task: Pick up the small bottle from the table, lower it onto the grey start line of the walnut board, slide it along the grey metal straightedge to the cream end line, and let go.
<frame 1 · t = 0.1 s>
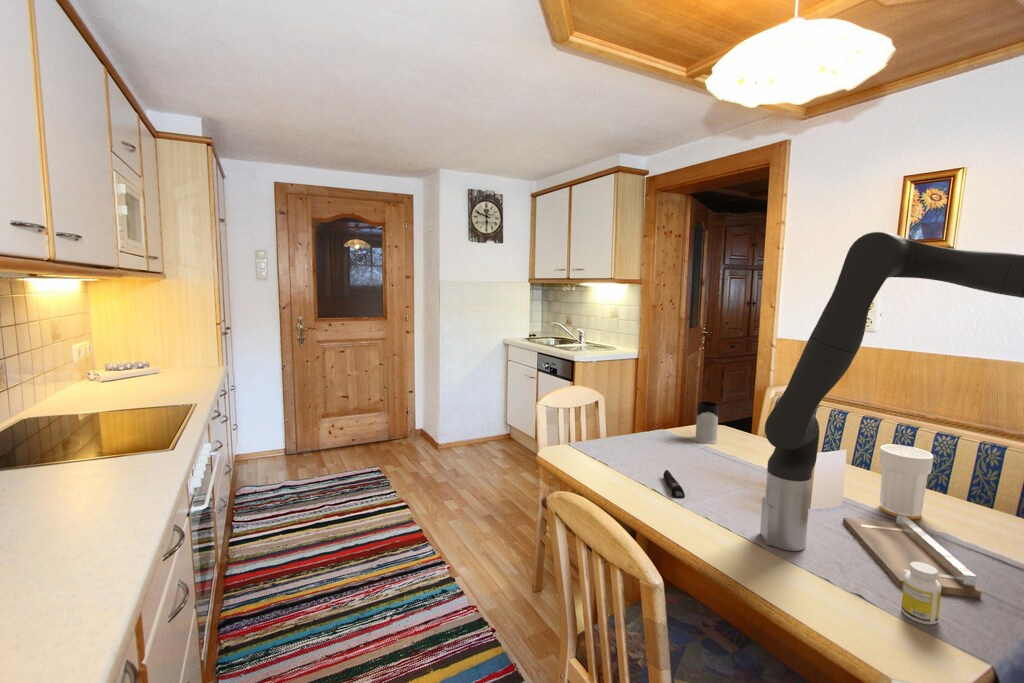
cup: (899, 512, 134), on the table
glass holder: (705, 438, 196), on the table
metal straightedge: (930, 558, 111), resting on walnut board
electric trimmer: (672, 489, 149), on the table
walnut board: (902, 555, 112), on the table
supplement bottle: (918, 616, 92), on the table
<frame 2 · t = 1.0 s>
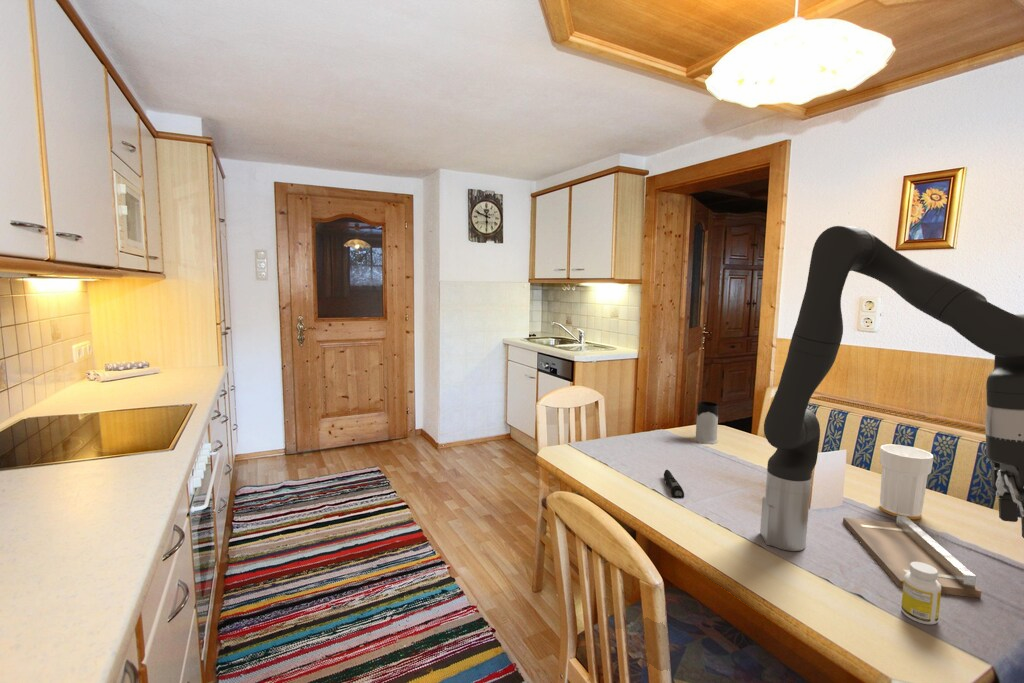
hand: (1020, 530, 81), 22 cm above the table, tool pointing down, fingers open, 8 cm apart
nothing on the table moved.
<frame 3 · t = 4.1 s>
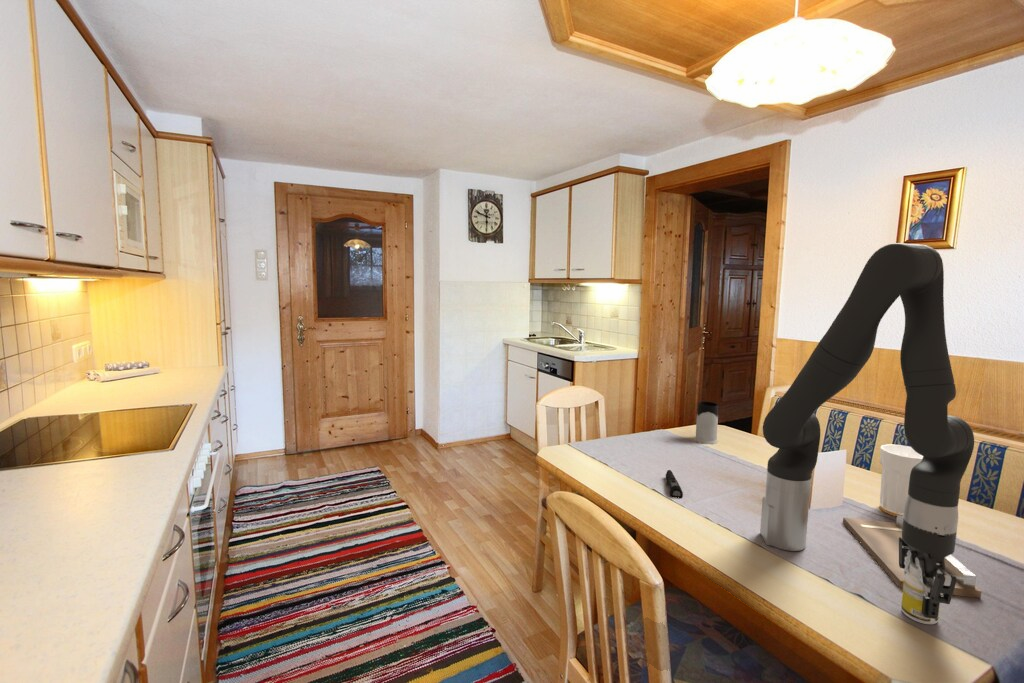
hand: (920, 605, 92), 2 cm above the table, tool pointing down, fingers closed on supplement bottle, 5 cm apart
supplement bottle: (918, 616, 92), on the table, touching gripper
everything else where it was.
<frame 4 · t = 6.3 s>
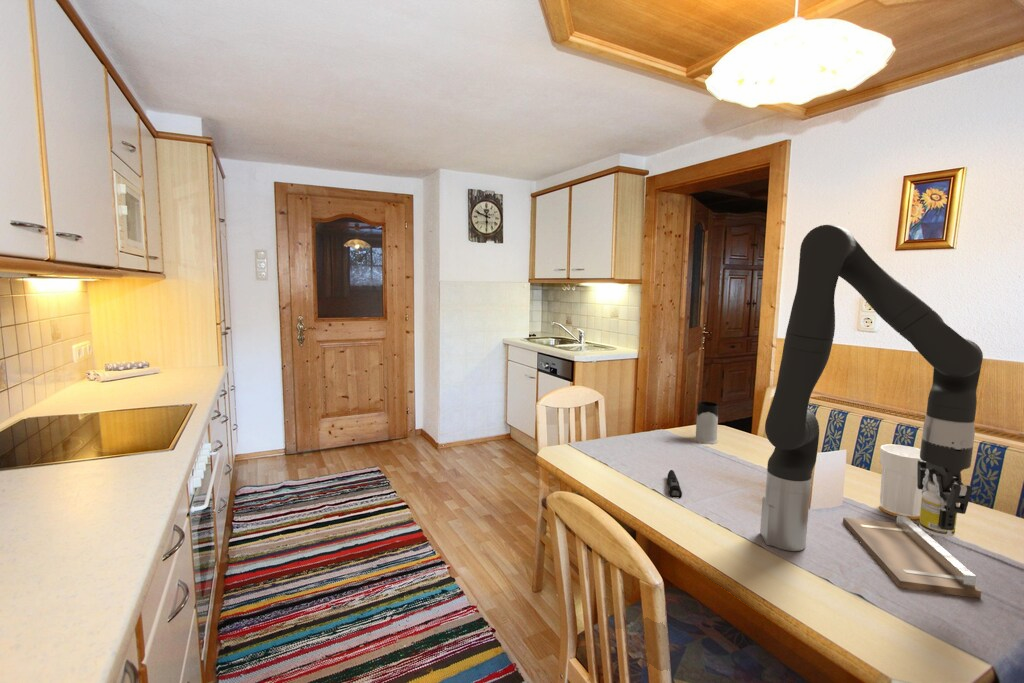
hand: (937, 521, 97), 15 cm above the table, tool pointing down, fingers closed on supplement bottle, 5 cm apart
supplement bottle: (936, 531, 97), point 13 cm above the table, touching gripper
everything else where it was.
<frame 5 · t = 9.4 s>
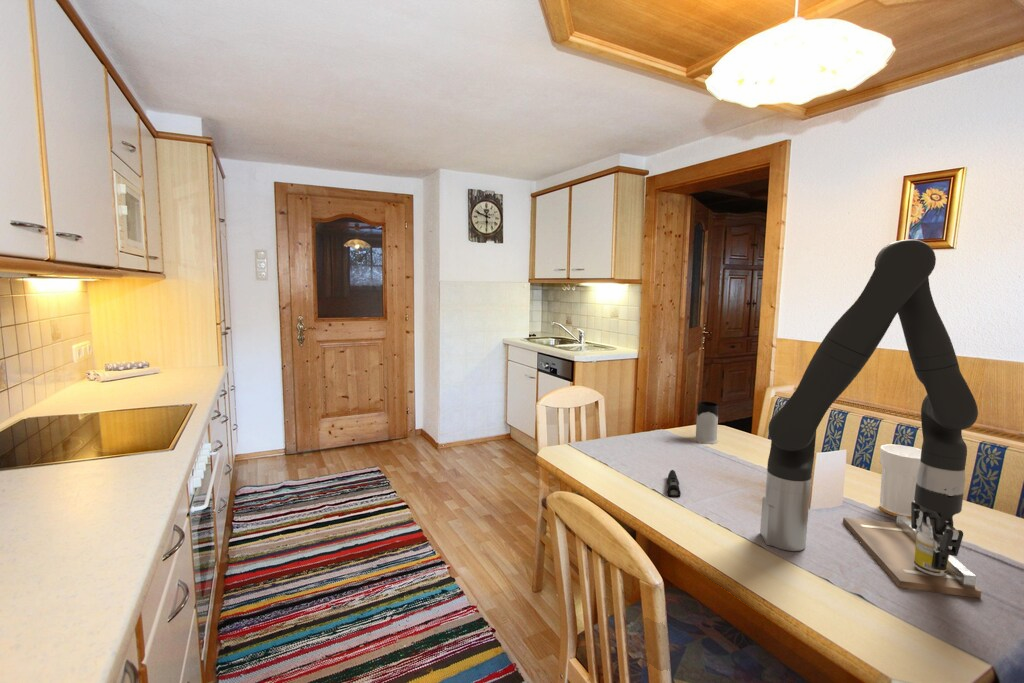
hand: (930, 560, 103), 4 cm above the table, tool pointing down, fingers closed on supplement bottle, 5 cm apart
supplement bottle: (929, 570, 104), point 2 cm above the table, touching gripper
everything else where it was.
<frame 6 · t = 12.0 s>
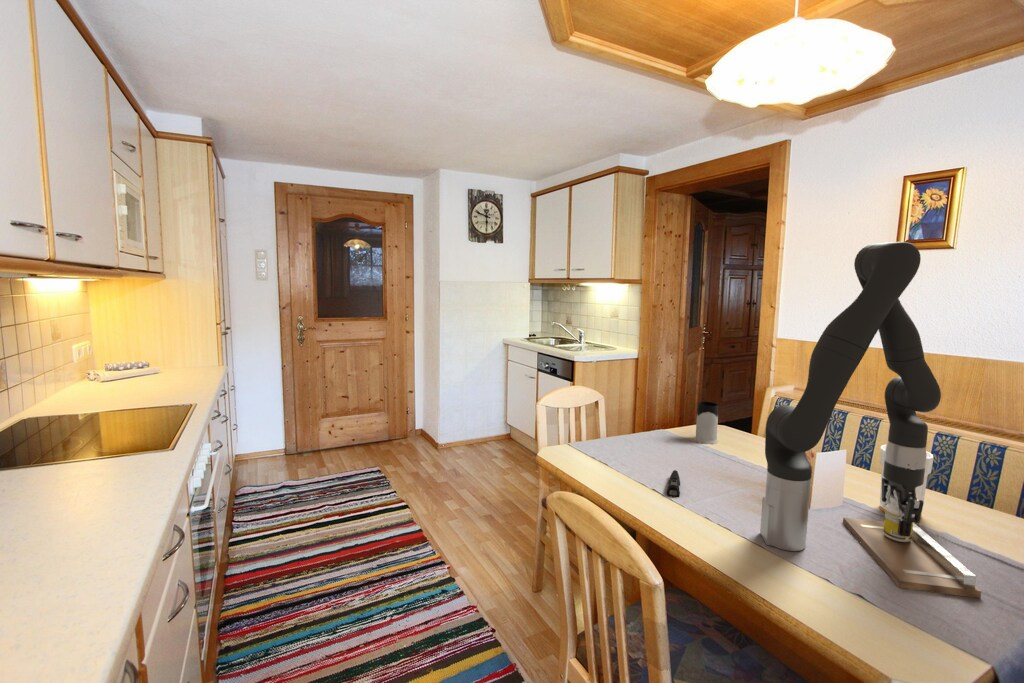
hand: (897, 528, 116), 4 cm above the table, tool pointing down, fingers closed on supplement bottle, 5 cm apart
supplement bottle: (896, 537, 117), point 2 cm above the table, touching gripper
when the fingers open (4 cm above the table, at t = 14.6 s): supplement bottle stays where it is, resting on walnut board.
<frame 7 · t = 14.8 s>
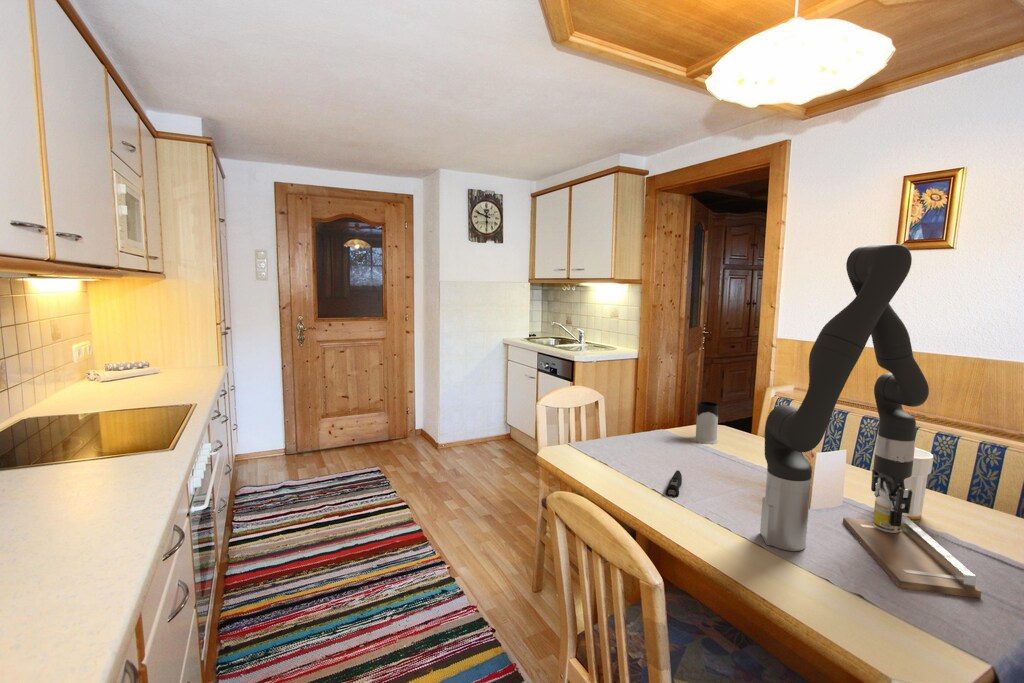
hand: (887, 518, 121), 4 cm above the table, tool pointing down, fingers open, 6 cm apart
supplement bottle: (886, 528, 121), point 1 cm above the table, touching walnut board
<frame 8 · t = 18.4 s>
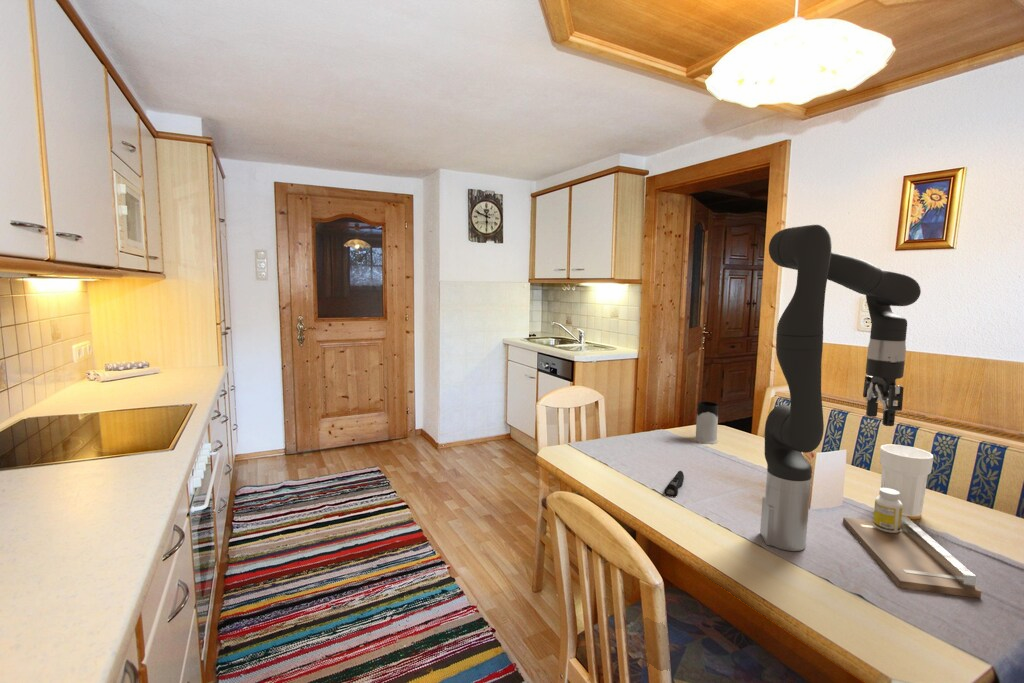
hand: (879, 420, 122), 28 cm above the table, tool pointing down, fingers open, 8 cm apart
at the end: supplement bottle 0.1 cm from the target spot, point 1.4 cm above the table; supplement bottle tilted 0°; the gripper is holding nothing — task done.
